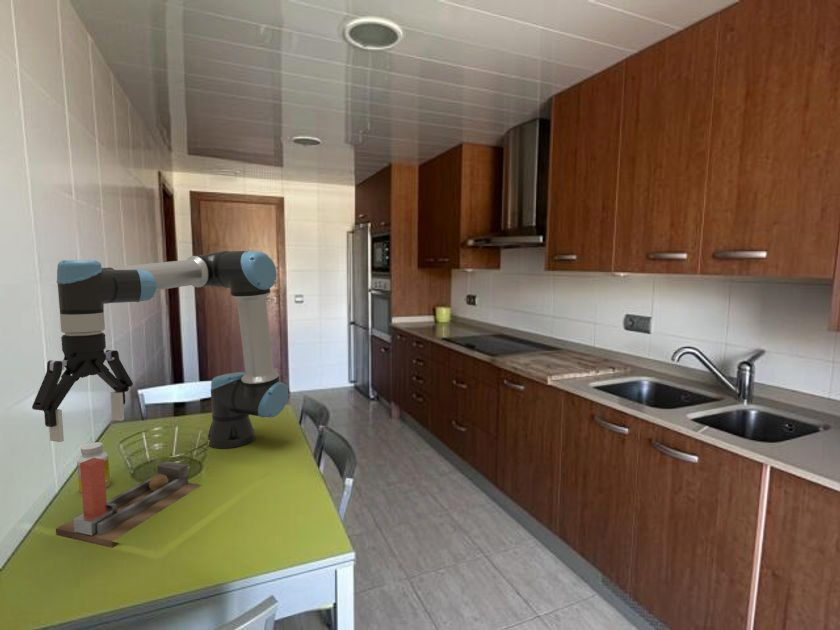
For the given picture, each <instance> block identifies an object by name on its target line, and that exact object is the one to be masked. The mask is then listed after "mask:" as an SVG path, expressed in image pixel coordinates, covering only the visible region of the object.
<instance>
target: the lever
mask: <svg viewBox="0 0 840 630" xmlns="http://www.w3.org/2000/svg"><path fill="white" fill-rule="evenodd" d="M80 470H81V484H82V493H81V497H82V499H81V500H82V509H83V513H81V514H80V515H78V516H76V517H73V518H72V520H74V532H79V533H83V534H88V535H94V534H95V533H97V524H98V523H99V522H101V521H103V520H105V519H106V518H108V517H110V516H112V515H114V514H115V513H117V506H116V504H114V503H109V502H106V501H107V488H106V487H105V472H104V459H98V458H92V459H89V460H87V461H84V462H82V463H80Z"/></svg>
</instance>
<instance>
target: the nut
mask: <svg viewBox="0 0 840 630" xmlns="http://www.w3.org/2000/svg"><path fill="white" fill-rule="evenodd" d="M150 478H151V480H150V482H149V488H150V489H151V490H152V491H153V492H154V491H156V490H158V489H160V488H161V487H163V486H165V485H167V484H168V483H169V480H168V478H167V476H165V475H163V474H156V475H154V476H152V477H150Z"/></svg>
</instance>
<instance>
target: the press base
mask: <svg viewBox="0 0 840 630" xmlns="http://www.w3.org/2000/svg"><path fill="white" fill-rule="evenodd" d="M156 471H157V473H156V475H158V474H163V475H165V476H167V478H168V480H169V483H168V484H167V485H165V486H163V487H161V488H160V489H158V490H156V491H154V492H153V491H152V490H151V489H150V488H149V482H150V480H151V478H152V477H150V478H147V479H146V480H144V481H143V482H141V483H139V484H137V485H135V486H133V487H131V488H129V489H128V490H127V489H126V490H125V491H123V492H121V493H120V494H118V495H116V496H114V497H112V498H110V499H108V500H106V502H109V503H114V504H116V506H117V513H115V514H114V515H112V516H110V517H108V518H106V519H105V520H103V521H101V522H99V523H98V524H97V533H95V534H94V535H88V534H83V533H79V532H74V520H73V519H71V520H69V521H68V522H65V523H64V524H61V525H60V526H58V527H56V528H55V536H60V537H63V538H67V539H72V540H77V541H79V542H80V541H81V542H86V543H89V544H94V545H98V546H103V547H106V548H107V547H108V548H111V549H112V548H114V547H116V546H118V545H119V544H120V542H116V541H115V540H117V539H118V538H120V537H122V536H124V534H126V533H128V532H129V531H131V530H132V529H134V528H136V527H137V526H139V525H140V524H143V523H144V522H146V520H149V519H150V518H152V517H153V516H155V515H157V514H158V513H160V512H162V511H163V510H165V509H166V508H168V507H169V506H171V505H172V504H174V503H176V502H177V501H179V500H181V499H182V498H184V497H186V496H187V495H190V493H192V492H194V491H195V490H196V489H198V488H200V487H202V484H198V483H192V482H189V475H188V474H189V473H188V472H189V470H188V464H186V463H185V464H183V463H178V462H171V461H165V462H163V463H161V464H159V465H157V466H156Z"/></svg>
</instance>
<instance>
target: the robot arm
mask: <svg viewBox="0 0 840 630" xmlns="http://www.w3.org/2000/svg"><path fill="white" fill-rule="evenodd" d="M277 274H278V273H277V268H276V264H275V262H274V261H273V259H272V258H271V257H270V256H269V255H268V254H267V253H265V252H263V251H258V250H231V251H230V250H224V251H223V250H222V251H215V252H211V253H206V254H200V255H192V256H189V257H188V258H187V259H182V260H172V261H163V262H161V261H160V262H152V263H142V264H140V263H139V264H130V265H128V264H127V265H119V266H108V267H102V263H101V262H100V261H98V260H87V259H86V260H85V259H84V260H83V259H81V260H80V259H79V260H78V259H64V260H63V259H62V260H61V261H59V262H58V263H57V269H56V284H57V292H58V294H57V295H58V305H59V306H58V307H59V318H60V319H59V320H60V331H61V333H62V336H61V337H60V338H61V339H60V340H61V351H62V353H63V354H64V356H63V359H62V360H54V359H53V360H52V359H50V360H48V361H46V362H47V363H46V373H45V376H44V377H43V380H42V381H41V385H40V386H39V389H38V391H37V394H36V396H35V398H34V400H33V404H32V405H31V409H32V410H35V411H42V412H43V414H44V415H43V416H44V424H45V427H47V428H48V430H49V431H48V432H49V440H50V442H56V443H62V442H64V441H65V439H64V425H63V423H64V422H63V410H62V409H60V408H59V407H60V406H61V404H62V402H63V401H64V400H65V398H66V397H67V395H68V394H69V392H70V391H71V389H72V387H73V386H74V384H75V383H76V382H79V380H80V378H86V377H89V376H95V375H97V376H98V377H99V378H101V380H103V381H104V383H106V385H108V386H109V387H110V388H111V389H112V390H114V391H110V407H111V420H112V421H114V420H115V421H119V422H122V421H124V420H125V412H124V405H125V404H126V393H127V392H129V390H130V388H131V387H132V386H133V385H134V383H133V381H132V379H131V377H130V376H129V373H128V372H127V370H126V368H125V367H124V365H123V362H121V359H120V354H119V351H118V350H112V349H106V348H107V346H106V345H107V344H106V342H107V341H106V333H104V332H103V331H104V330H106V323H105V309H104V307H105V304H119V303H121V304H122V303H141V302H145V301H146V302H147V301H150V300H152V299H153V298H154V296H155V295H156V293H157V291H161V290H168V289H174V288H181V287H189V286H192V287H195V288H204V287H212V288H213V287H215V288H224V289H226V288H227V289H230V296H231V297H232V298H233V299H234V300H235V301H236V304H237V310H238V311H237V313H238V320H239V328H240V330H239V331H240V336H241V337H240V338H241V344H242V346H241V347H242V354H243V361H244V371H245V372H244V371H239V372H238V371H237V372H231V373H224V374H221V375H218V376H214V377H213V378H212V379H211V382H210V398H211V399H210V400H211V419H212V420H211V425H210V427H209V431H208V433H207V438H206V440H210V442H209V445H208V446H209V447H211V448H214V449H232V448H238V447H242V446H246V445H247V444H250V443H252V442H253V441H254V440H255V438H256V431H255V428H254V427H253V423H252V421H251V418H250V416H254V417H255V416H256V417H260V418H274V417H275V418H276V417H278V415H279V414H281V412H283V411H284V409H285V406H286V404H287V402H288V399H289V389H288V386H287V385H286V384H285V383H284V382H282V381H280V374H279V372H278V371H277V370H275V369H274V364H273V352H272V345H271V334H270V325H269V316H268V306H267V298H268V296H269V295H270V294H271V288H273V287H274V285H275V284H276V280H277ZM105 349H106V350H105ZM105 361H106V363H107V365H108V367H107V365H105V364H104V363H105ZM109 368H110V369H111V371H112V372H111V371H110V369H109ZM63 371H64V372H63ZM62 372H63V373H62ZM60 378H61V379H60Z"/></svg>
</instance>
